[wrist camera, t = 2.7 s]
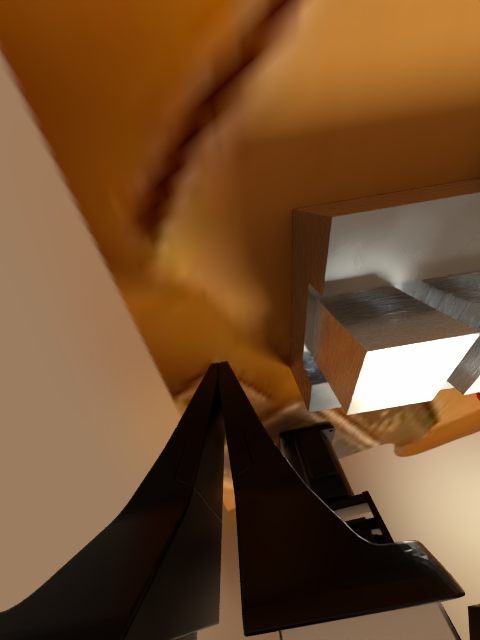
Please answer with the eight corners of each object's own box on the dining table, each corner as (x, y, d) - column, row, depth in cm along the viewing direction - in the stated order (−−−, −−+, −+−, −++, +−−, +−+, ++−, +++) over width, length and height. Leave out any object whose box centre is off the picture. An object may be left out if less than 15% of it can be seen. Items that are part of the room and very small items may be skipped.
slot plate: (426, 344, 16) (479, 383, 13) (290, 368, 16) (308, 412, 13) (522, 170, 10) (679, 158, 6) (293, 209, 10) (332, 217, 6)
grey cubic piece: (373, 343, 12) (431, 400, 9) (311, 354, 12) (346, 414, 9) (392, 286, 10) (481, 332, 7) (316, 299, 10) (367, 352, 7)
